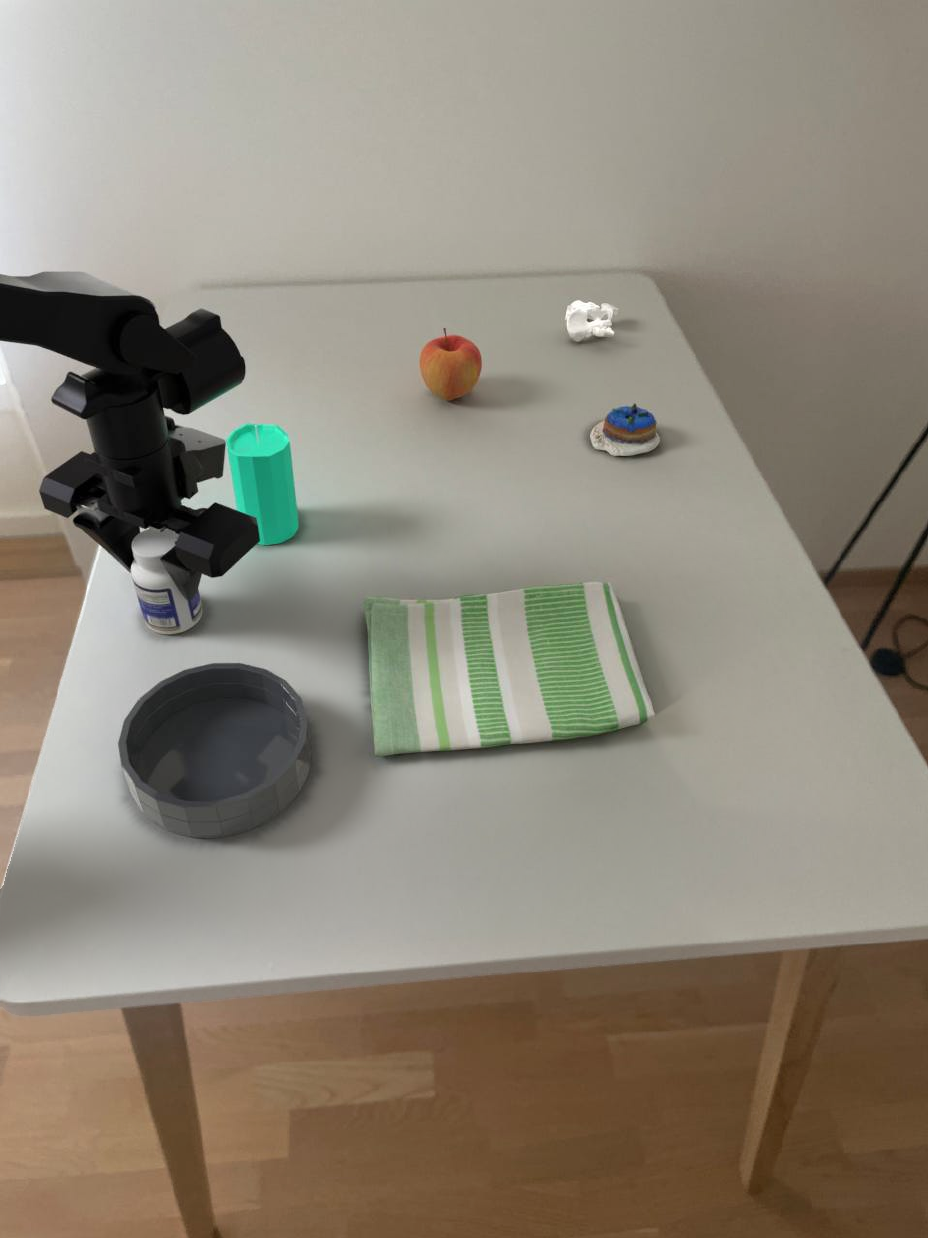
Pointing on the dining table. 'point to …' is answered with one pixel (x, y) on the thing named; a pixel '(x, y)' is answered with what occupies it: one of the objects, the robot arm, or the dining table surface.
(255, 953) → the dining table surface
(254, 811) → the pan
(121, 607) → the dining table surface
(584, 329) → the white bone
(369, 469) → the dining table surface
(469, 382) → the apple
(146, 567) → the pill bottle
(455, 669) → the dish towel
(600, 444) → the dessert
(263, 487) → the candle
